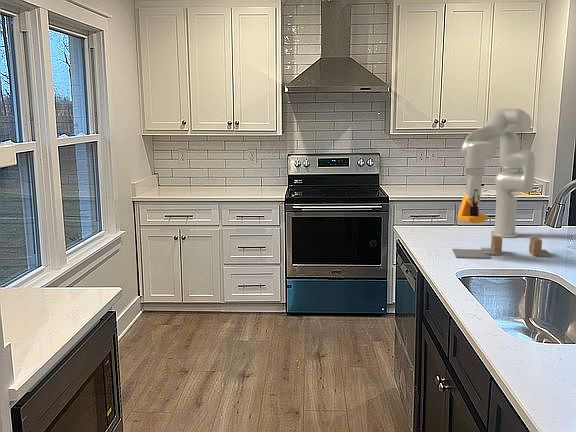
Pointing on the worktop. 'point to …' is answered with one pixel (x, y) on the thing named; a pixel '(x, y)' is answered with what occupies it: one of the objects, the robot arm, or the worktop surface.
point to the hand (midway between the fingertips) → (472, 214)
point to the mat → (470, 253)
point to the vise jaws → (534, 247)
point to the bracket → (465, 212)
